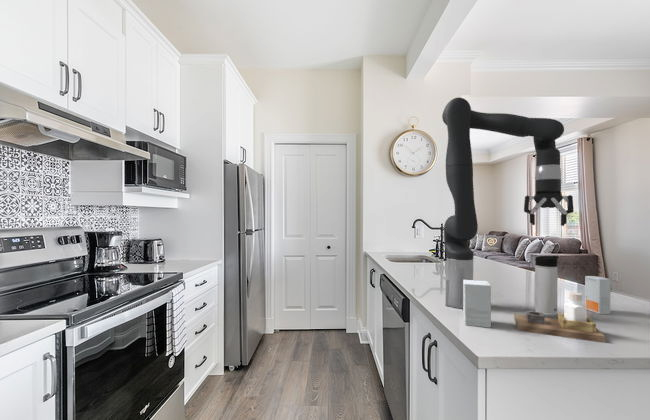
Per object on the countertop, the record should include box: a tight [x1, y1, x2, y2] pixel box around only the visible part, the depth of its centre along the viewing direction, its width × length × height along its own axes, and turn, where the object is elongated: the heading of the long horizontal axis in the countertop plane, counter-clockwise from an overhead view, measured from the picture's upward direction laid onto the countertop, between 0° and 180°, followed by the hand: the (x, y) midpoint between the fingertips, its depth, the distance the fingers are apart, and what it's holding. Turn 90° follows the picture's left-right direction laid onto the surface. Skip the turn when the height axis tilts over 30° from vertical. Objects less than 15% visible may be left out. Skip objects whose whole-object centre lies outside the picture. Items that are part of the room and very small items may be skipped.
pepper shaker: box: [563, 291, 588, 322], centre depth 96 cm, size 4×4×10 cm
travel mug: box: [534, 255, 559, 319], centre depth 112 cm, size 6×7×20 cm
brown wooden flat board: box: [513, 310, 606, 343], centre depth 98 cm, size 20×12×4 cm, turn 65°
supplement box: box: [462, 279, 492, 328], centre depth 104 cm, size 7×7×13 cm
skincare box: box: [584, 275, 612, 315], centre depth 117 cm, size 6×4×12 cm
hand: (547, 225), depth 117 cm, fingers open, 8 cm apart
